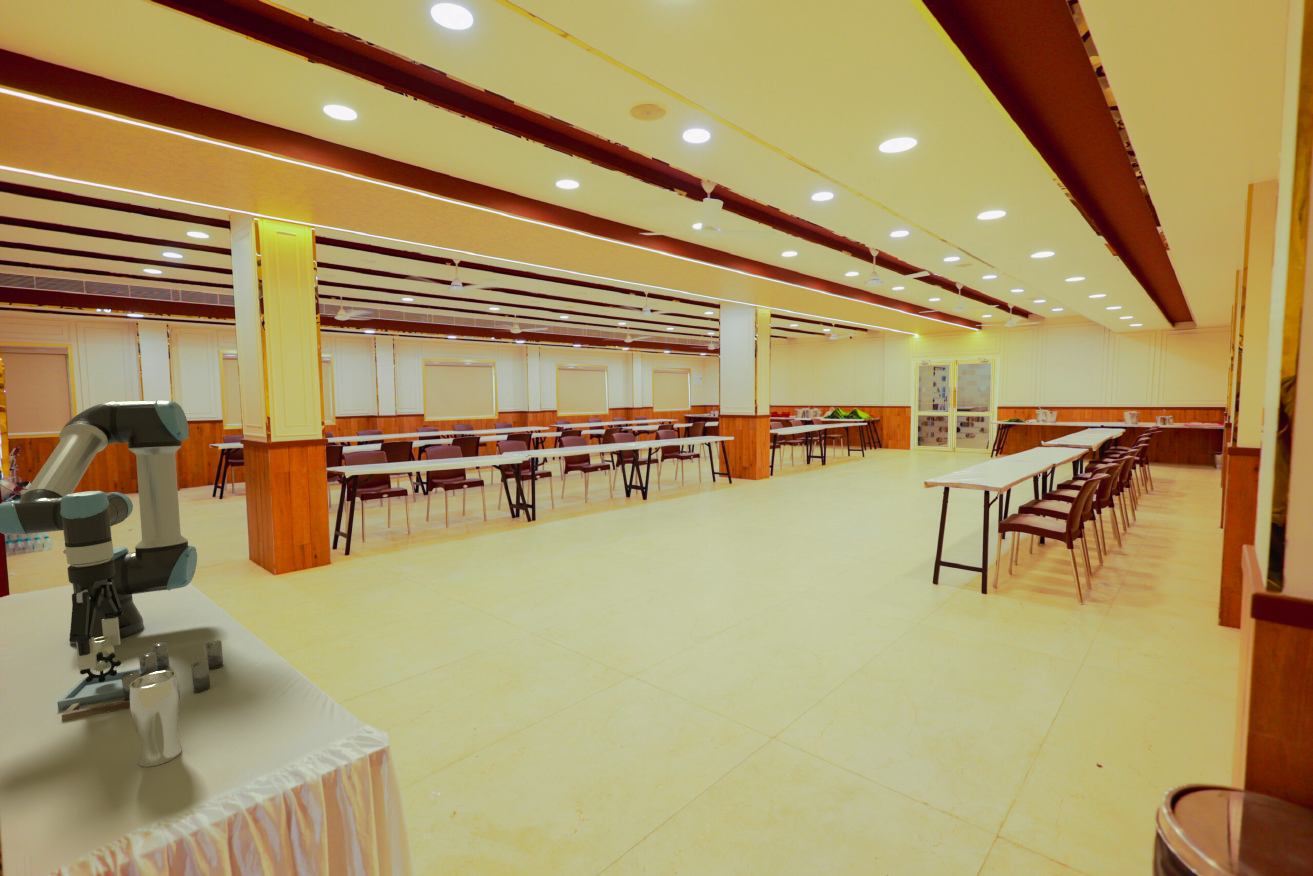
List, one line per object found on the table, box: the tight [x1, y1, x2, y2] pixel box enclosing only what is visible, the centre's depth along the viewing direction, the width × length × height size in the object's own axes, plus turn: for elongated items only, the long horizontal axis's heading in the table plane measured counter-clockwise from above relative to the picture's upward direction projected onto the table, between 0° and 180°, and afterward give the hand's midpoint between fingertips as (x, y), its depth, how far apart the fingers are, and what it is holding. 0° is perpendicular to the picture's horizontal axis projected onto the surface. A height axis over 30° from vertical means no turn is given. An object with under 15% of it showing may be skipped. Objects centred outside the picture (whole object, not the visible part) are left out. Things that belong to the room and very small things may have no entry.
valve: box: [79, 636, 122, 682], centre depth 134 cm, size 7×7×12 cm
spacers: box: [122, 639, 224, 701], centre depth 139 cm, size 20×16×6 cm
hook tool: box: [61, 700, 130, 721], centre depth 128 cm, size 5×14×1 cm, turn 114°
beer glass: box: [129, 670, 183, 768], centre depth 109 cm, size 7×7×15 cm
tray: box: [57, 667, 141, 711], centre depth 134 cm, size 12×12×2 cm
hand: (101, 656), depth 134 cm, fingers closed on valve, 12 cm apart
